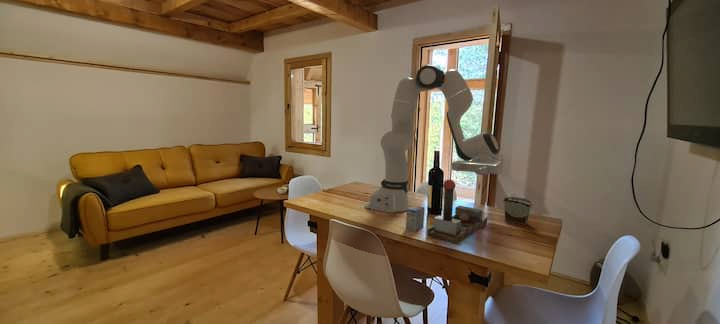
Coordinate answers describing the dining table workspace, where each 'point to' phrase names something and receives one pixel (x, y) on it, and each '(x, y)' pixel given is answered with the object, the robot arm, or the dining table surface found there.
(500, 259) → the dining table surface
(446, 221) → the red knob lever
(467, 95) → the robot arm
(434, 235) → the press base
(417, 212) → the medicine box
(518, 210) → the food container
